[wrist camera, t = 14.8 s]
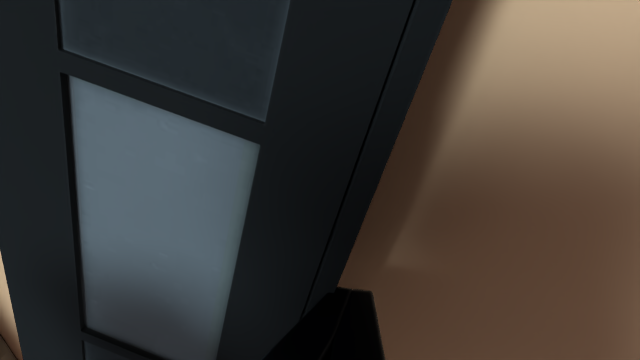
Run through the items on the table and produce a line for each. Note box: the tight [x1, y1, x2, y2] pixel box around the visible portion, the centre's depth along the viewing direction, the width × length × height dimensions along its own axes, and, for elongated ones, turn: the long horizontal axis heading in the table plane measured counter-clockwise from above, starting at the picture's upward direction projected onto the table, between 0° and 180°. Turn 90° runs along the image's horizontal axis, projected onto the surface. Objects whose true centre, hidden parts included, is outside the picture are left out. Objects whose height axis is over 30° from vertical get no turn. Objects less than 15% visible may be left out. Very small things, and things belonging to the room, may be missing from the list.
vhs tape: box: [0, 0, 452, 360], centre depth 11 cm, size 8×14×2 cm, turn 166°
